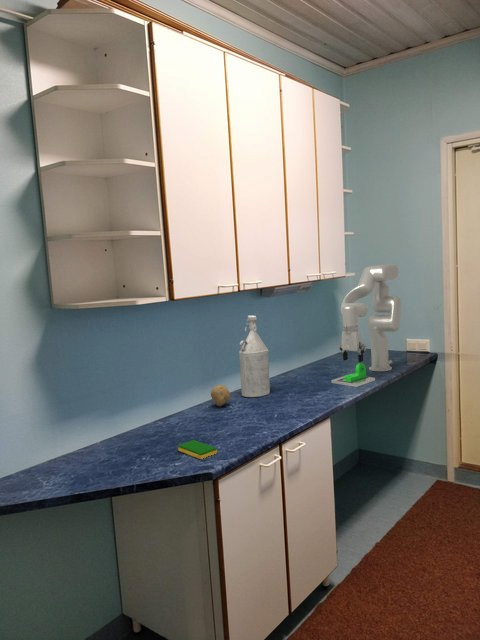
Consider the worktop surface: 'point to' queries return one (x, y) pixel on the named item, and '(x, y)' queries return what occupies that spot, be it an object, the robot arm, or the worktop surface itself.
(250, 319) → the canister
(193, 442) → the dish sponge
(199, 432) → the worktop surface
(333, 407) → the worktop surface
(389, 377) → the worktop surface
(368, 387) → the worktop surface
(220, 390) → the natural sponge
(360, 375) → the mechanical part
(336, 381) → the flange
